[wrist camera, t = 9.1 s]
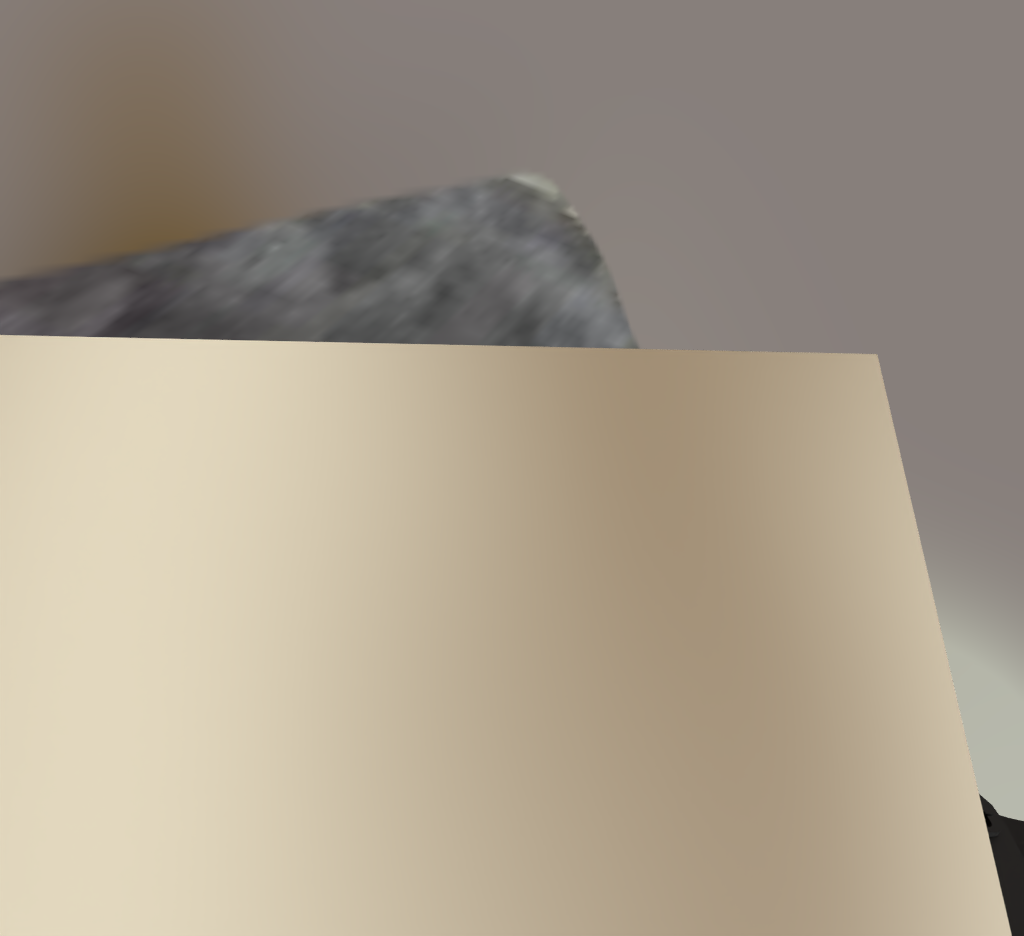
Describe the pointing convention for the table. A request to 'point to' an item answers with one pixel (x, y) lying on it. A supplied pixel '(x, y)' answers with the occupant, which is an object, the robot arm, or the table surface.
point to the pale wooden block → (470, 647)
